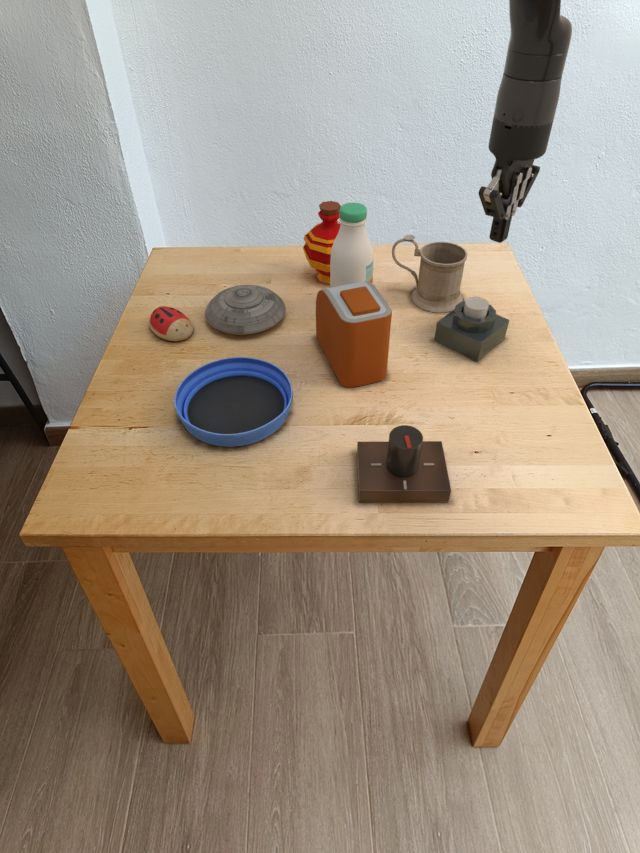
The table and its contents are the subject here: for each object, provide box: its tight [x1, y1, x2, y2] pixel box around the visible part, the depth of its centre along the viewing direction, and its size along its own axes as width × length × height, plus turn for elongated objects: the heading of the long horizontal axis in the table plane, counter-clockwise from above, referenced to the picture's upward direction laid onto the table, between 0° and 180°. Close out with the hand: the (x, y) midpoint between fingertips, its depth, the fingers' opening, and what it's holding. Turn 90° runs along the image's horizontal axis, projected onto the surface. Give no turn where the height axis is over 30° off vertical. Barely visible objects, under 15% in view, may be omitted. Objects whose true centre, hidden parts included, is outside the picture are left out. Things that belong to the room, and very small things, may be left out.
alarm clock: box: [315, 281, 393, 388], centre depth 95 cm, size 15×8×14 cm, turn 18°
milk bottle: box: [329, 202, 374, 288], centre depth 104 cm, size 8×8×20 cm
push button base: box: [433, 300, 510, 363], centre depth 101 cm, size 9×9×6 cm
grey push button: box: [463, 296, 490, 319], centre depth 99 cm, size 4×4×2 cm
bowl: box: [173, 356, 294, 448], centre depth 90 cm, size 18×18×4 cm
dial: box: [386, 424, 424, 477], centre depth 78 cm, size 4×4×6 cm
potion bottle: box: [302, 200, 342, 285], centre depth 114 cm, size 10×10×15 cm
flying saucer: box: [204, 284, 287, 336], centre depth 108 cm, size 15×15×6 cm
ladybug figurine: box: [149, 305, 194, 342], centre depth 106 cm, size 7×10×4 cm
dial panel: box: [356, 440, 452, 503], centre depth 80 cm, size 12×9×3 cm
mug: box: [391, 234, 468, 314], centre depth 109 cm, size 14×10×12 cm
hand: (497, 239), depth 87 cm, fingers closed
